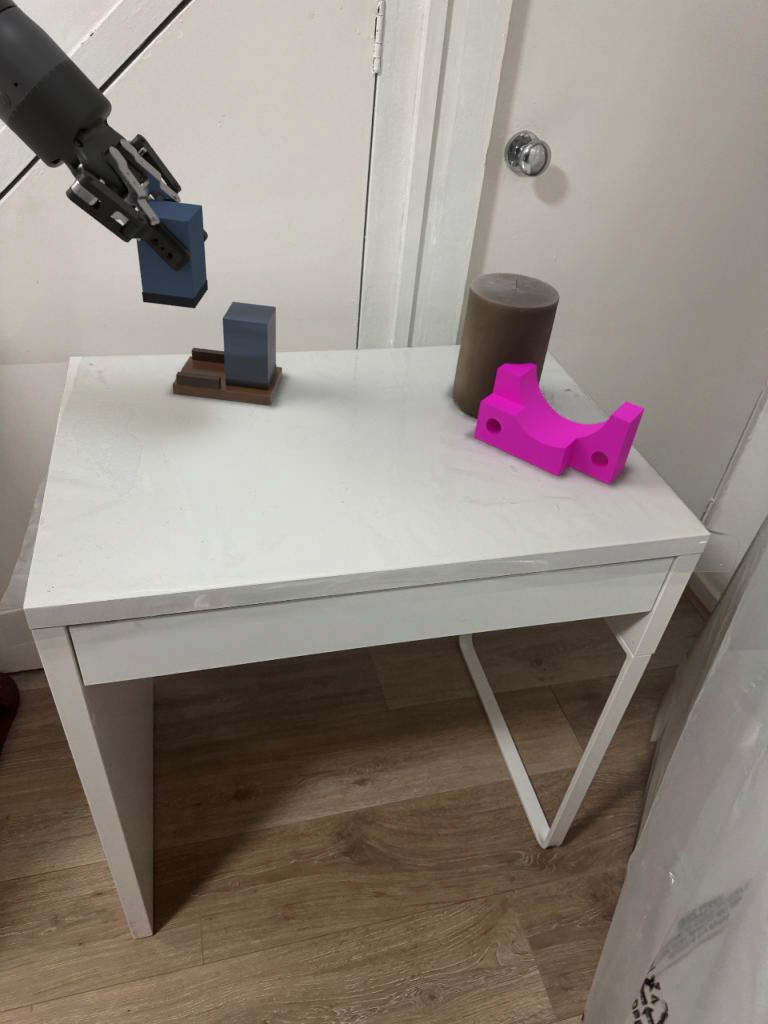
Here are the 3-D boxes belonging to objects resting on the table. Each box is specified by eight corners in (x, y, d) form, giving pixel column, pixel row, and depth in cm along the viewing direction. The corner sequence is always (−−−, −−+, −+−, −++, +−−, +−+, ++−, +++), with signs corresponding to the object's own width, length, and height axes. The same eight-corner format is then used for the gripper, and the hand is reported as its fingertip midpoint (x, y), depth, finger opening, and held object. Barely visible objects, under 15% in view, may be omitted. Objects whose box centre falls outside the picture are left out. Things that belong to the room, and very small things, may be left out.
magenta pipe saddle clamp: (473, 436, 83) (485, 376, 79) (502, 415, 87) (515, 356, 83) (598, 495, 77) (619, 432, 72) (623, 469, 81) (644, 408, 76)
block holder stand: (270, 405, 85) (269, 329, 79) (173, 393, 85) (165, 316, 79) (282, 376, 90) (282, 302, 84) (190, 365, 90) (184, 290, 84)
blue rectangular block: (195, 308, 70) (188, 221, 65) (142, 302, 70) (132, 214, 65) (208, 289, 74) (203, 204, 69) (158, 283, 74) (149, 198, 69)
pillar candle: (508, 432, 84) (537, 304, 75) (435, 400, 88) (454, 275, 79) (548, 400, 91) (579, 278, 81) (478, 371, 95) (500, 252, 85)
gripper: (21, 72, 55) (198, 257, 62) (97, 43, 66) (240, 203, 73) (-33, 143, 58) (141, 310, 66) (48, 104, 69) (189, 251, 77)
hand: (193, 253), depth 69 cm, fingers closed on blue rectangular block, 4 cm apart
